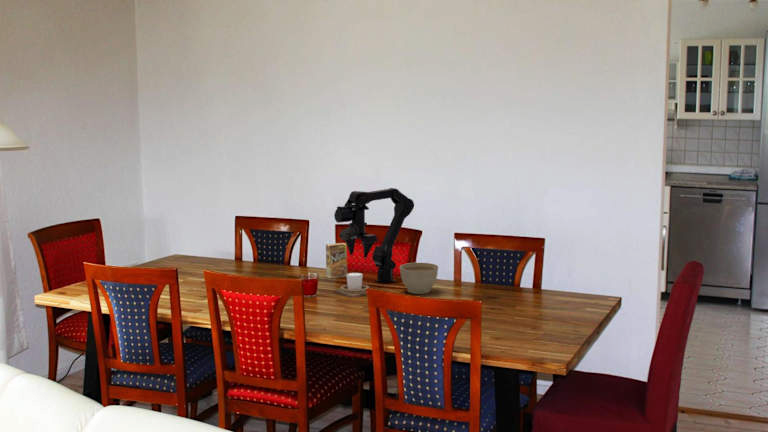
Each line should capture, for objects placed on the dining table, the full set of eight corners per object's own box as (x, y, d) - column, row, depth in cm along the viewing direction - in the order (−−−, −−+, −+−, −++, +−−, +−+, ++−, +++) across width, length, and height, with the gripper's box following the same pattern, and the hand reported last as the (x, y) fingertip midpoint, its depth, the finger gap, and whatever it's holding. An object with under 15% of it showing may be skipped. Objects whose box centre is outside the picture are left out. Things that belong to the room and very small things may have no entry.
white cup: (363, 288, 345) (363, 272, 344) (361, 292, 338) (361, 276, 337) (347, 288, 346) (347, 272, 345) (345, 292, 339) (345, 275, 338)
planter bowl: (393, 289, 347) (392, 264, 346) (425, 285, 354) (425, 261, 353) (411, 298, 333) (411, 271, 331) (445, 293, 340) (445, 267, 339)
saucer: (356, 288, 350) (356, 282, 350) (374, 293, 342) (374, 287, 341) (334, 292, 342) (334, 287, 342) (353, 297, 334) (353, 292, 333)
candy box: (329, 279, 369) (329, 245, 366) (325, 277, 372) (325, 244, 370) (347, 276, 373) (347, 243, 371) (343, 275, 376) (343, 242, 374)
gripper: (329, 220, 353) (330, 255, 355) (358, 225, 339) (358, 261, 341) (349, 217, 360) (349, 252, 362) (378, 222, 346) (378, 258, 349)
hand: (358, 256), depth 353 cm, fingers open, 9 cm apart
